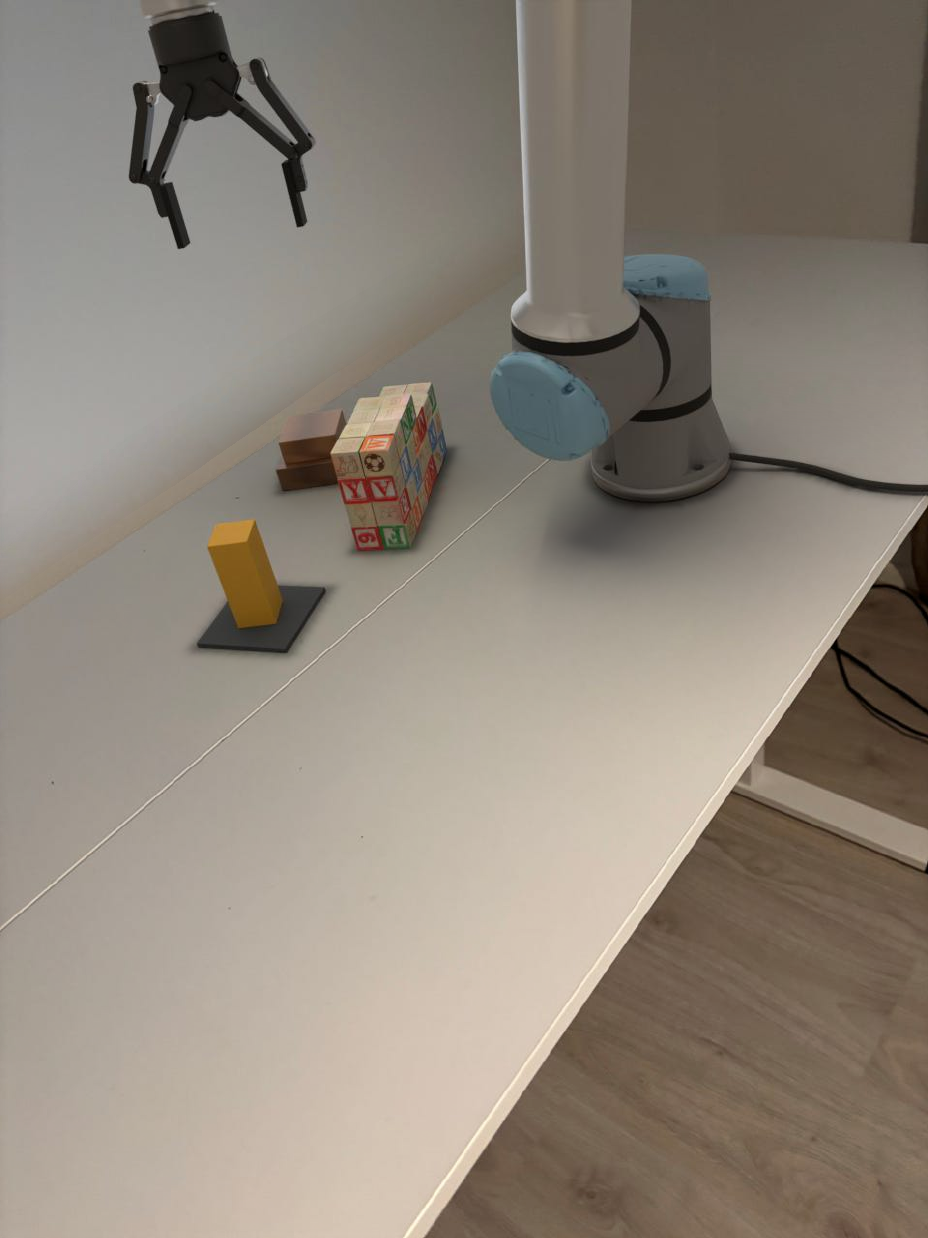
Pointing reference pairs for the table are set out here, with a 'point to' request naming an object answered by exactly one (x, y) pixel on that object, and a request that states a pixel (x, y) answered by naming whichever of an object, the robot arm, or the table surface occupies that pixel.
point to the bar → (245, 573)
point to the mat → (265, 637)
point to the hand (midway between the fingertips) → (243, 235)
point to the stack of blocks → (389, 464)
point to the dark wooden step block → (309, 449)
